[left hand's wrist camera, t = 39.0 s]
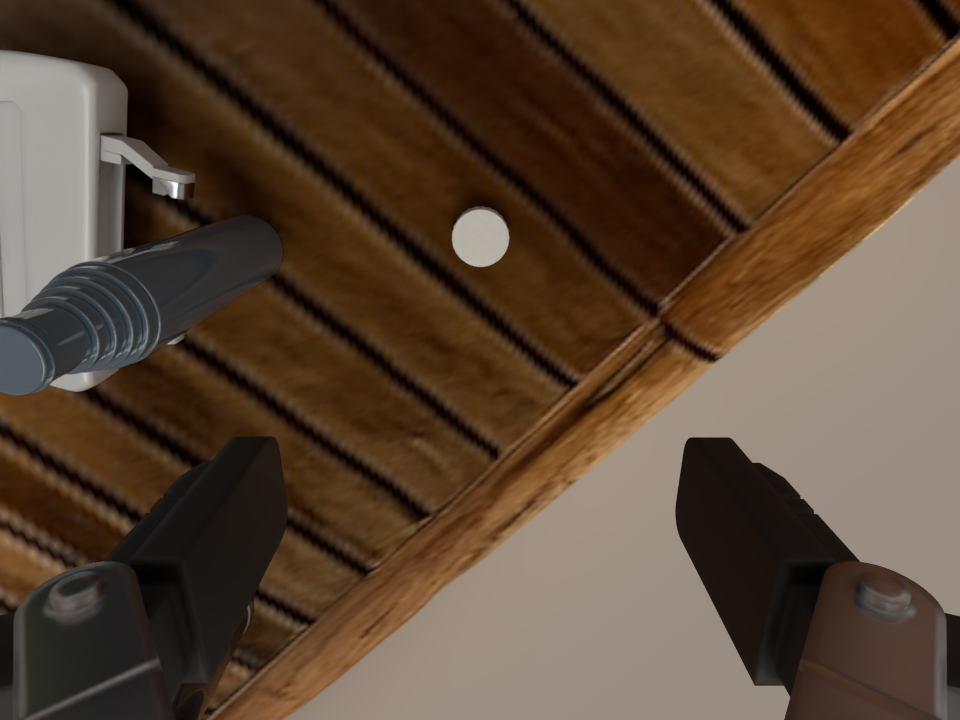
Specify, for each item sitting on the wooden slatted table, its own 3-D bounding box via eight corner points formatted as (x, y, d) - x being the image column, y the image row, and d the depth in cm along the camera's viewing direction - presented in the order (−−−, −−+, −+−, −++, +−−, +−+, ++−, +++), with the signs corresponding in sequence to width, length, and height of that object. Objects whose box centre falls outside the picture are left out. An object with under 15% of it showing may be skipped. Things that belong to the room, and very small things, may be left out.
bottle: (281, 217, 41) (62, 299, 19) (285, 284, 43) (87, 427, 21) (213, 212, 41) (-84, 289, 19) (219, 279, 42) (-46, 418, 21)
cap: (443, 220, 41) (441, 223, 39) (494, 195, 40) (495, 198, 38) (466, 271, 42) (466, 276, 40) (517, 248, 42) (518, 253, 40)
